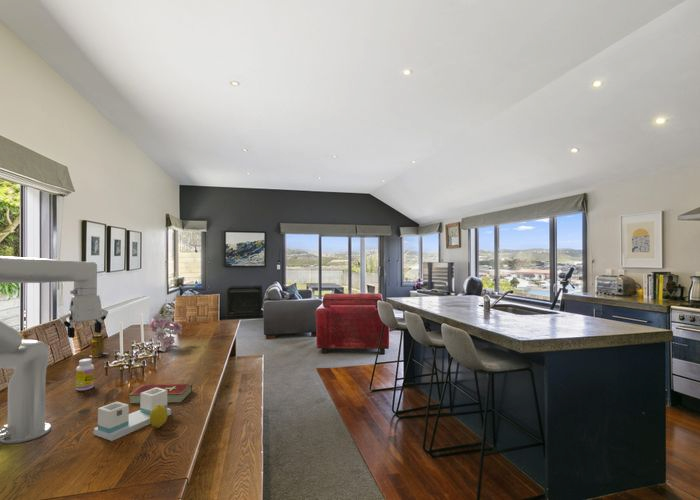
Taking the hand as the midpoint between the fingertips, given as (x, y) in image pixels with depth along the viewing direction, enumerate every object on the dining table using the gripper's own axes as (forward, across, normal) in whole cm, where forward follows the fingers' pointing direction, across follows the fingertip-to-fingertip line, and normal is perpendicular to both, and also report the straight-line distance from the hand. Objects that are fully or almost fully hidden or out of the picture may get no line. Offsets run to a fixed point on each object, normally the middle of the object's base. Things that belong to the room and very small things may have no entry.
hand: (84, 334), depth 146 cm
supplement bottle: (+28, +11, +20) cm, 37 cm away
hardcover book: (+29, +20, -20) cm, 40 cm away
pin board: (+28, -1, -33) cm, 43 cm away
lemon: (+28, +1, -43) cm, 52 cm away
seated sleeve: (+26, +6, -33) cm, 43 cm away
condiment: (+29, +46, +71) cm, 89 cm away
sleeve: (+26, -8, -33) cm, 43 cm away
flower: (+29, +74, +49) cm, 93 cm away
